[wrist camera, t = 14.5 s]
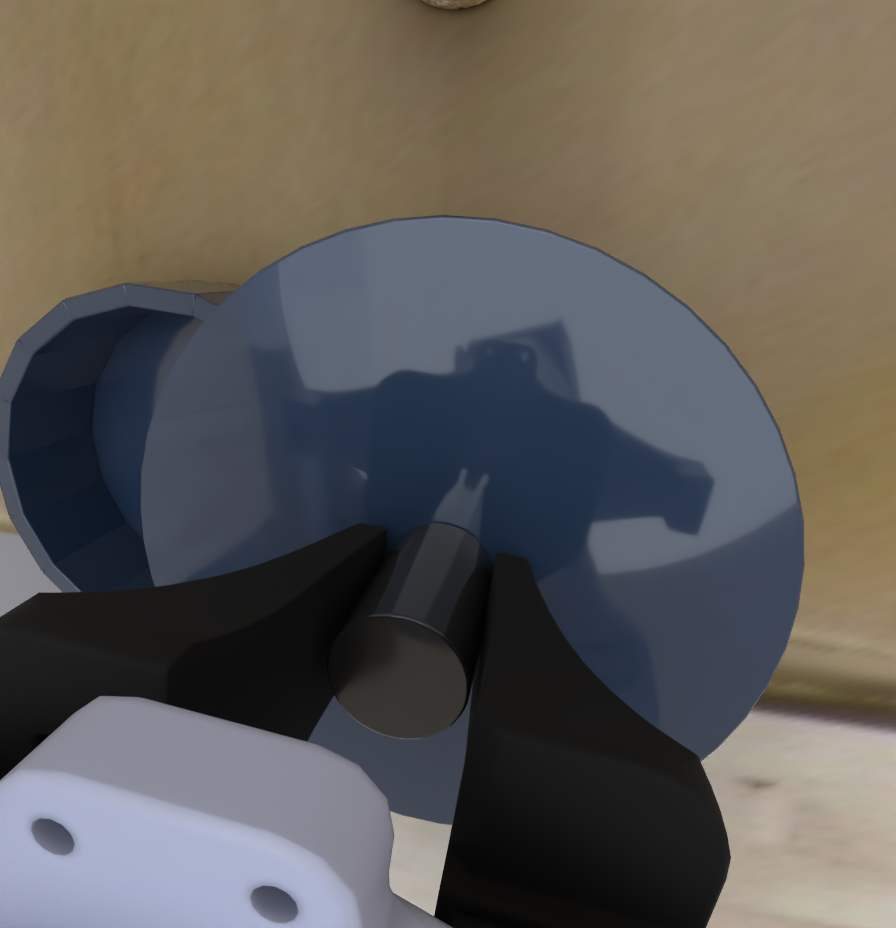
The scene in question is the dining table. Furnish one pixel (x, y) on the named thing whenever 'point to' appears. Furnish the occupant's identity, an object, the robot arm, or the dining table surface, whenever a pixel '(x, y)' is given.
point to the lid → (485, 478)
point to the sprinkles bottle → (453, 3)
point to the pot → (92, 425)
